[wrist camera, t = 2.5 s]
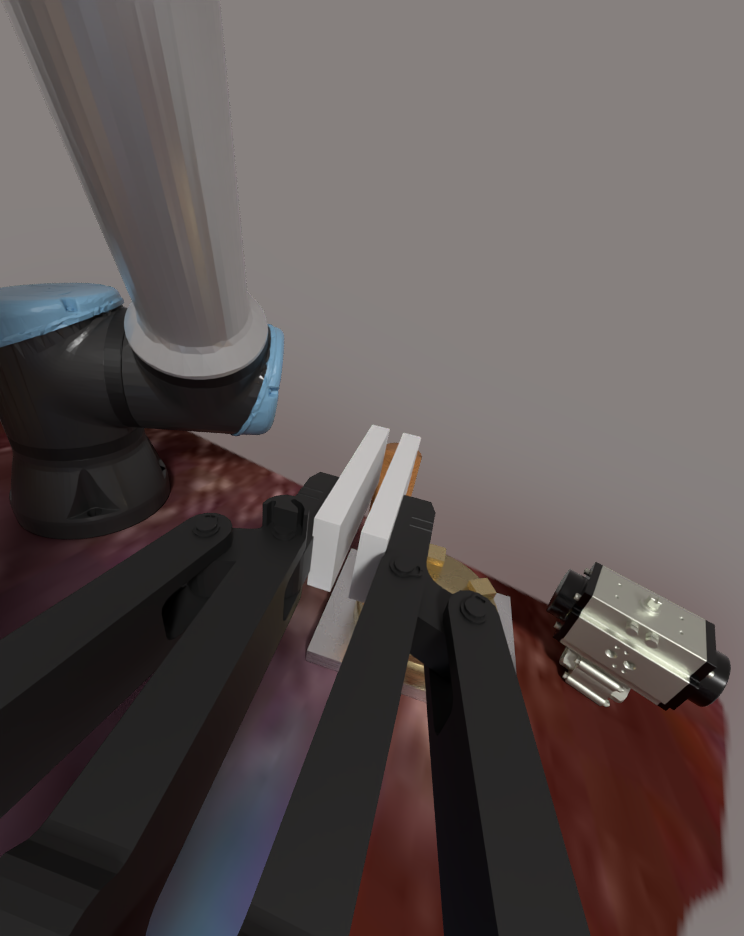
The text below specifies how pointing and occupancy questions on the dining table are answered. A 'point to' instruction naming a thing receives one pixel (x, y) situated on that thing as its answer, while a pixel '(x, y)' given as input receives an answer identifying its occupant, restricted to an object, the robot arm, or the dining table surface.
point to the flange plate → (340, 626)
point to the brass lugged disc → (432, 570)
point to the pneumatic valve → (634, 642)
